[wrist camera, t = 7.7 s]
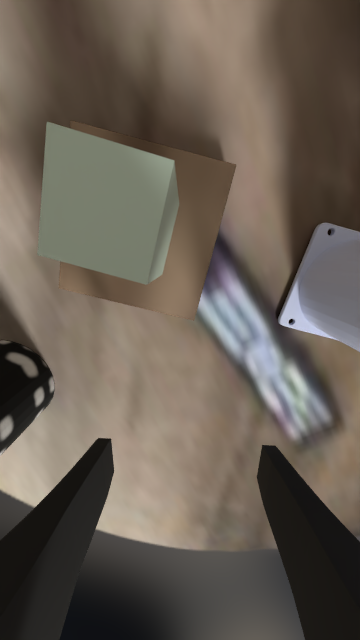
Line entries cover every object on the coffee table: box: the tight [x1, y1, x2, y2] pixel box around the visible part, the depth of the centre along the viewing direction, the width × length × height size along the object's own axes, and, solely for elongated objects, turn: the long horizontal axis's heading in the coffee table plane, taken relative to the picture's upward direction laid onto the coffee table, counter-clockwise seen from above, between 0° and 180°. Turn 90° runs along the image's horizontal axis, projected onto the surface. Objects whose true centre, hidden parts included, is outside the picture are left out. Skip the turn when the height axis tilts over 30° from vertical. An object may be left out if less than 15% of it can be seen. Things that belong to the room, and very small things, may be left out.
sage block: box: [37, 122, 179, 285], centre depth 11 cm, size 4×4×6 cm
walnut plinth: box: [59, 120, 236, 321], centre depth 15 cm, size 10×10×3 cm
